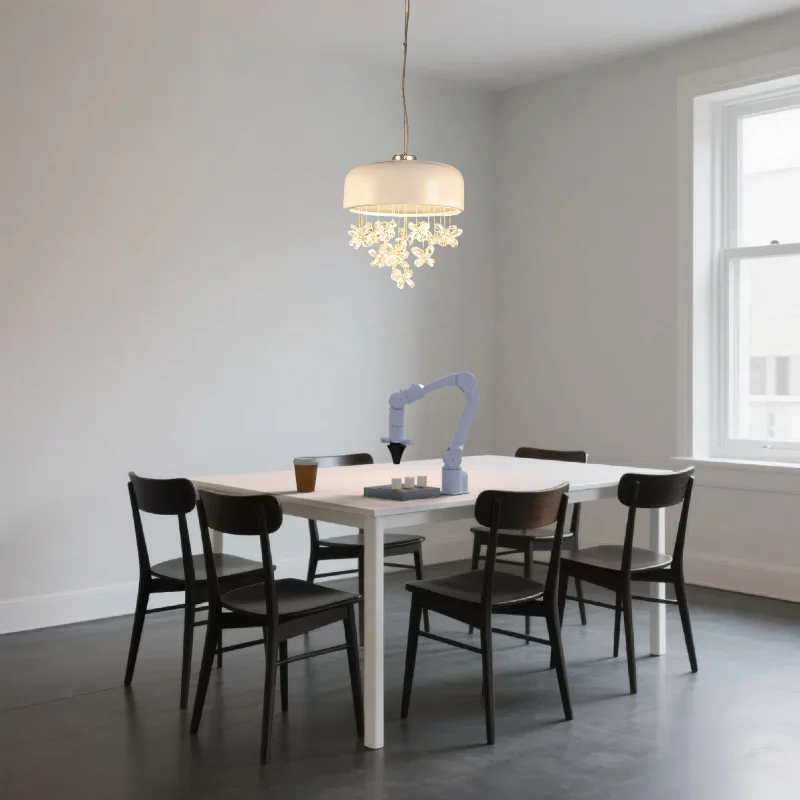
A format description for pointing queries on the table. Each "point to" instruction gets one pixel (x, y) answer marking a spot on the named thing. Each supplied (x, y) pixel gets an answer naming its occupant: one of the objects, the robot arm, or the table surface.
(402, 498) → the panel
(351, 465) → the table surface
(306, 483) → the disposable coffee cup
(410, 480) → the block
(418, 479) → the breaker
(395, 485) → the block
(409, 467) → the table surface
